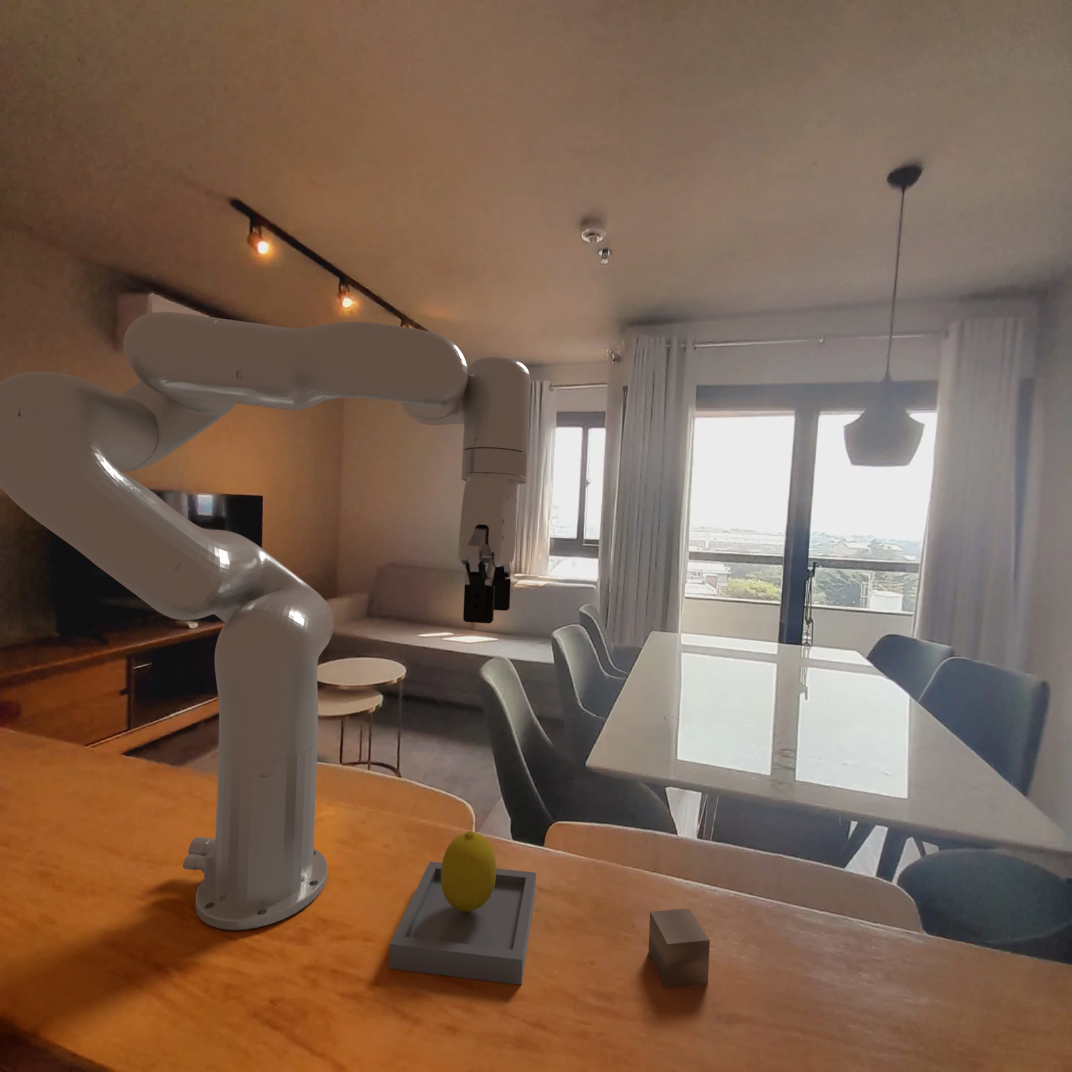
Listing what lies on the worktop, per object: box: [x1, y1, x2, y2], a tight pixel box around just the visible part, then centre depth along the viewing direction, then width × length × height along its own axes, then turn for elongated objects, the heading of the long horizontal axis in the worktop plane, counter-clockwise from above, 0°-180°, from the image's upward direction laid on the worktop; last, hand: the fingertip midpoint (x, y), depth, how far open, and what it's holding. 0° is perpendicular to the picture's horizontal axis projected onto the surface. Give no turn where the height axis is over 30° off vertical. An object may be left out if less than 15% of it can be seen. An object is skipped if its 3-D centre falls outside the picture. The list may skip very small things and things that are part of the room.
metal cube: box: [648, 907, 711, 989], centre depth 49 cm, size 4×4×4 cm
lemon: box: [441, 830, 497, 913], centre depth 53 cm, size 6×6×8 cm
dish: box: [388, 861, 537, 986], centre depth 53 cm, size 12×12×2 cm
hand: (488, 615), depth 62 cm, fingers open, 9 cm apart
